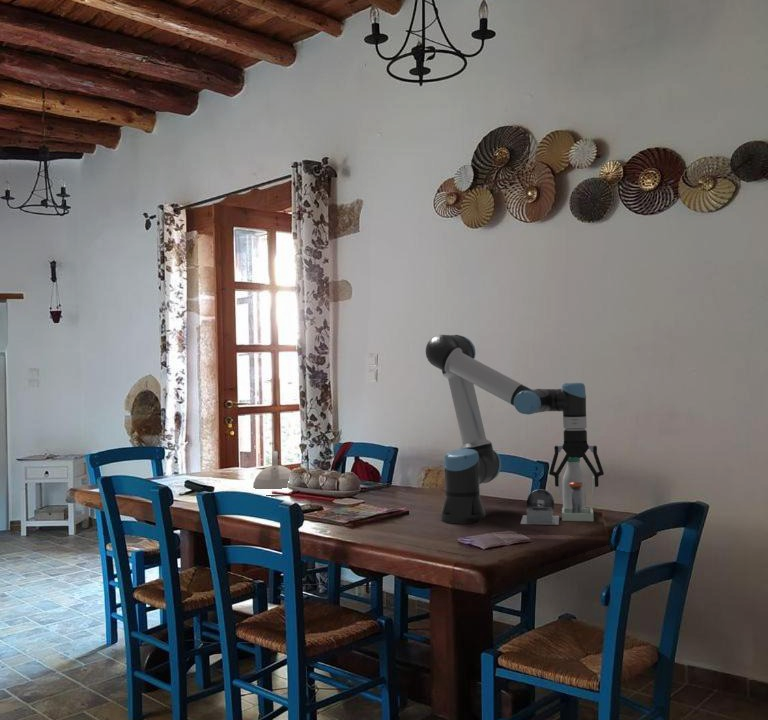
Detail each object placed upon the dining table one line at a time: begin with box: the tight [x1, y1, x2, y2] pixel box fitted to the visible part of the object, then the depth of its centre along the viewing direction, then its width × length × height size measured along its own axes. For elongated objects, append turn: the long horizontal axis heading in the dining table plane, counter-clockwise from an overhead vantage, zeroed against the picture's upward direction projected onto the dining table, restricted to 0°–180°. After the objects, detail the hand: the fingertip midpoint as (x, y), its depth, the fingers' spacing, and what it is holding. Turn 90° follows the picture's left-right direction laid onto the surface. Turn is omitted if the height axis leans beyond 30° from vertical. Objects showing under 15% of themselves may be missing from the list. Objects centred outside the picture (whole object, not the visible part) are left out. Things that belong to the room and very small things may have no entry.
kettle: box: [252, 450, 292, 489], centre depth 346 cm, size 20×21×18 cm
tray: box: [561, 507, 594, 522], centre depth 265 cm, size 10×10×4 cm
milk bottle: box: [562, 457, 587, 508], centre depth 278 cm, size 8×8×20 cm
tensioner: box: [520, 488, 560, 526], centre depth 263 cm, size 12×15×10 cm
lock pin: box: [569, 482, 582, 513], centre depth 265 cm, size 4×4×12 cm
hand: (576, 496), depth 265 cm, fingers open, 10 cm apart
